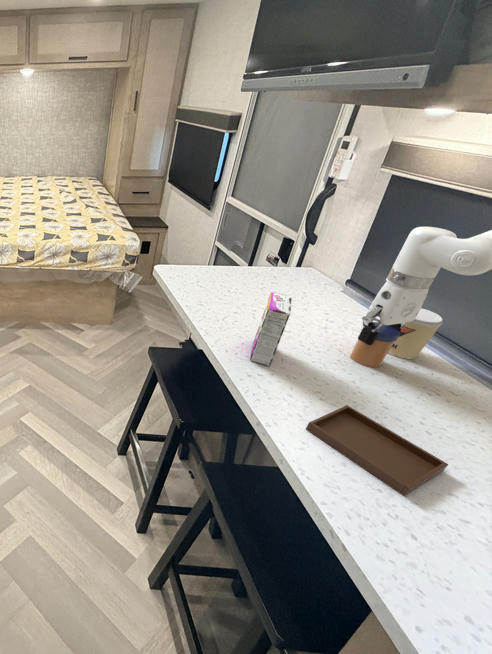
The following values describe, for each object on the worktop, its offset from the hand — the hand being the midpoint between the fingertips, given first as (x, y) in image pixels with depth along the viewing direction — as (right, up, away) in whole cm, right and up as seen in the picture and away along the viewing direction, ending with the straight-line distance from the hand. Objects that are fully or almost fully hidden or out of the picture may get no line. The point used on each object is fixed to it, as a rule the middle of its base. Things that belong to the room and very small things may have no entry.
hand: (376, 339), depth 103 cm
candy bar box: (-26, -5, +6) cm, 27 cm away
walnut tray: (-23, -20, -23) cm, 38 cm away
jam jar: (0, -6, +3) cm, 7 cm away
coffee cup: (+12, -4, +7) cm, 15 cm away
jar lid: (0, +3, -1) cm, 3 cm away
